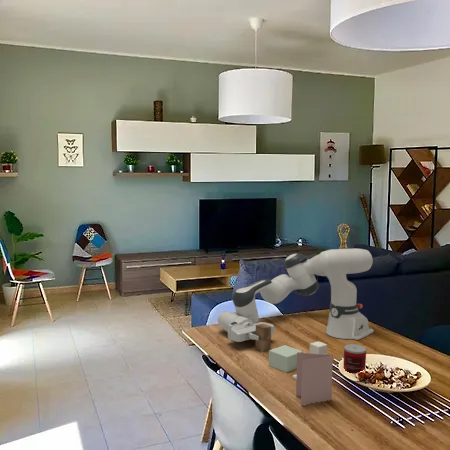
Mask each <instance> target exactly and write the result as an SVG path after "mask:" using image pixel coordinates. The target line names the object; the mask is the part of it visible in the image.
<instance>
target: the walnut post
mask: <svg viewBox="0 0 450 450" xmlns="http://www.w3.org/2000/svg"><path fill="white" fill-rule="evenodd" d="M256 335H260V340H255V344H254V345H255V350H257V351H259V352H262V353H264V352H267V351H268V352H269V350H272V334H271V326H269V325H267V324H260V325H256Z"/></svg>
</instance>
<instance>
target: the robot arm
mask: <svg viewBox="0 0 450 450" xmlns="http://www.w3.org/2000/svg"><path fill="white" fill-rule="evenodd" d="M373 263H374V261H373V256H372V254H371V252H370V251H369V250H368V249H364V248H359V247H358V248H337V249H336V248H335V249H334V248H333V249H327V250H325V251H321V252H320V253H319V254H316V255H315V256H313V257H312V258H310V259H309V258H308V255H304V254H302V253H292V254H290V255H288V256H287V257H286V259H284V261H283V265H284V268H285V269H286V271H287V273H288V274H284V273H282V274H280V275H278V276H274V278H272V279H268V278H267V279H266V278H264V279H260V280H257V281H255V282H253V283H251V284H248V285H247V286H243V287H240V288H238V289H236V290H235V291H234V292H233V294H232V296H231V299H232V303H233V305H234V309H235V312H232V311H226V310H224V311H221V312H220V313H219V315H218V317H217V322H218V326H219V328H221V329H222V330H224V331H225V332H226V333H227V338H228V339H229V340H231V341H233V342H235V343H241V342H245V341H250V340H255V341H256V340H260V335H256V325H260V324H267V325H269V326H271V335H273V334H274V333H275V325H274V324H272V323H270V322H269V323H268V322H265V321H264V322H263V321H261V322H260V316H259V312H258V308H257V303H256V294H258V293H260V295H261V297H262V299H263V300H264V301H265V302H267V303H269V304H272V305H276V304H279V303H281V302H282V301H284V300H285V298H287V297H288V295H289V294H290V293H292V292H293V291H295V292H294V294H295V295H300V296H304V297H307V296H311V295H313V294H315V293H316V291H318V289H319V288H320V285H319V281H318V280H317V279H316V276H321V277H326V278H327V279H328V281H329V283H330V298H331V299H330V303H329V314H328V320H327V326H326V328H325V329H326V332H325V333H326V334H327V335H328V336H330V337H332V338H337V339H345V340H361V339H363V338H366V337H367V336H369V335H371V334H373V333H374V332H375V331H374V329H373V328H371V327H369V320H368V318H367V317H366V316H365V315H364V314H363V313H361V312H360V311H359V309H362V308H363V304H362V303H357V294H358V292H357V291H358V290H357V287H356V285H355V284H354V283H353V282H351V281H349V280H348V278H347V275H349V274H359V273H363V272H367V271H369V270H370V269H371V267H372V266H373Z"/></svg>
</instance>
